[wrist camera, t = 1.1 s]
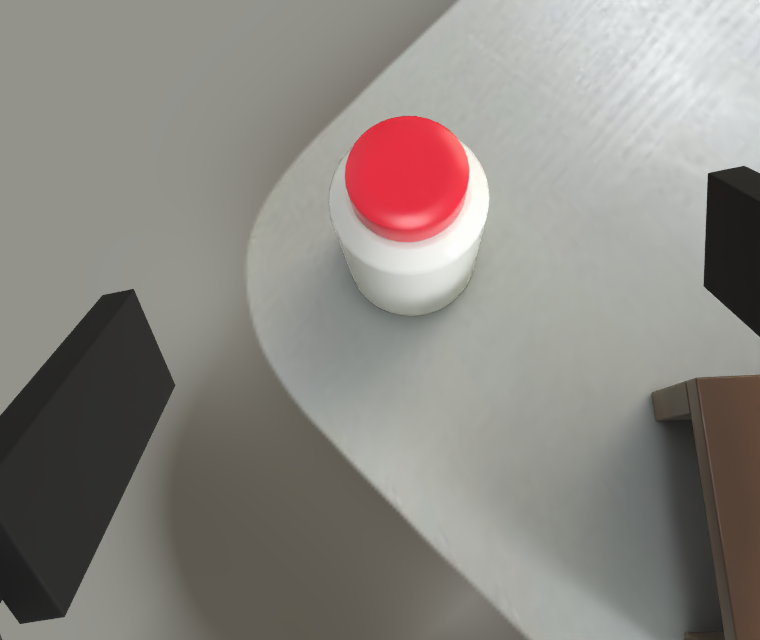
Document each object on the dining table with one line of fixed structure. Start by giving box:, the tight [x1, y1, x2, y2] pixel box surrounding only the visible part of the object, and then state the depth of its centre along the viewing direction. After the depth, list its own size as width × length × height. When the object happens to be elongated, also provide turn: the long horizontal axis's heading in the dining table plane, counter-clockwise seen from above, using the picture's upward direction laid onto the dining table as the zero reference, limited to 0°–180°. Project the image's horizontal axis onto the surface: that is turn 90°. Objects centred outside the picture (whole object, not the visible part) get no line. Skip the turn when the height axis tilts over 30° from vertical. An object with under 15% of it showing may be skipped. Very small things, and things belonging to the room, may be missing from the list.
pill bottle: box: [328, 116, 489, 316], centre depth 33 cm, size 8×8×11 cm
